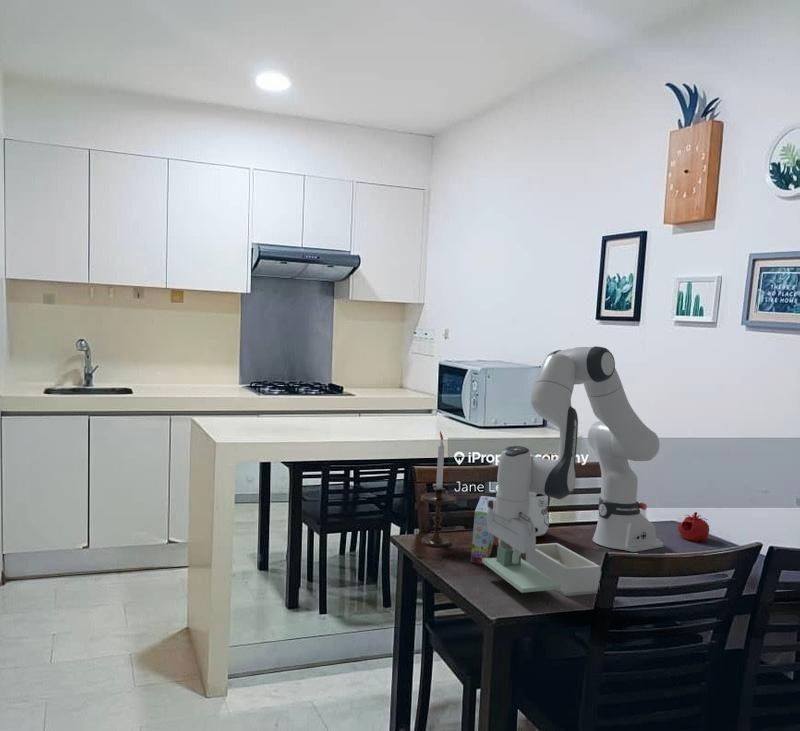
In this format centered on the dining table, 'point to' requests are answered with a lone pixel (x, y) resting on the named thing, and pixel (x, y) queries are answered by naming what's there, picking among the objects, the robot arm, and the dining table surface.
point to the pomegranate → (694, 528)
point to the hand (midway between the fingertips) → (509, 559)
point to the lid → (519, 572)
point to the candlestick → (438, 503)
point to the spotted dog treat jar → (539, 513)
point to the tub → (566, 569)
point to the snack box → (481, 532)
